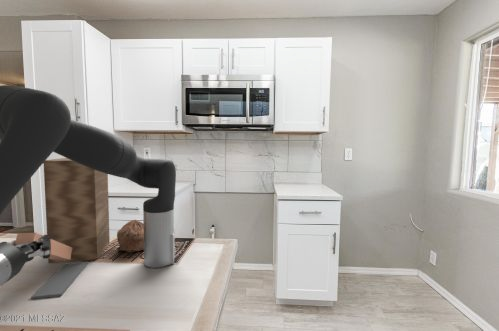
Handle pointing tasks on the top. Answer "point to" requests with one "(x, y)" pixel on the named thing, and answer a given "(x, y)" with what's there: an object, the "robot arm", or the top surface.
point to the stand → (77, 208)
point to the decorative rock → (131, 236)
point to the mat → (60, 281)
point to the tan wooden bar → (57, 248)
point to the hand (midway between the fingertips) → (37, 239)
